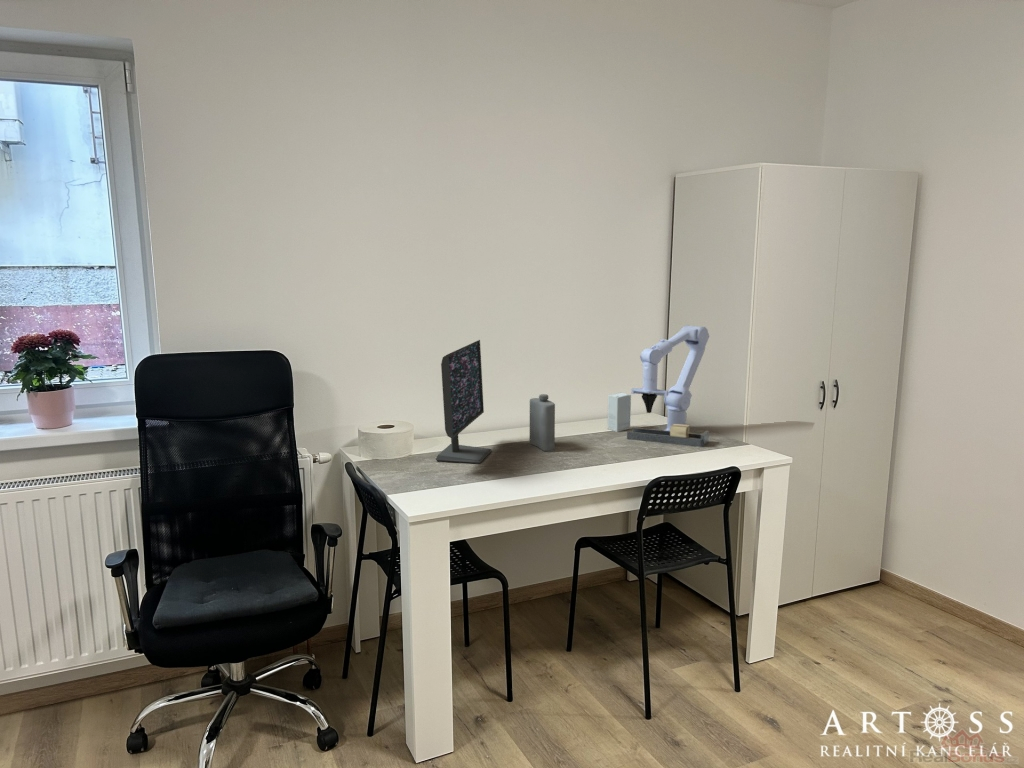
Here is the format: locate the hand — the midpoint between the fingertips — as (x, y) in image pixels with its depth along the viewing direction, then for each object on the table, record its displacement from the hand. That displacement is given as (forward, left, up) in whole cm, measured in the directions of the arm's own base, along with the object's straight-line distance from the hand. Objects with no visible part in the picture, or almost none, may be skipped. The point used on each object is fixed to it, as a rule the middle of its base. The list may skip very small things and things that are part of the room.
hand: (649, 412), depth 306 cm
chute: (+5, +9, -9) cm, 14 cm away
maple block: (+5, +14, -8) cm, 17 cm away
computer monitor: (+60, -51, -10) cm, 79 cm away
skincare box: (-5, -14, -10) cm, 18 cm away
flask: (+35, -31, -10) cm, 48 cm away
